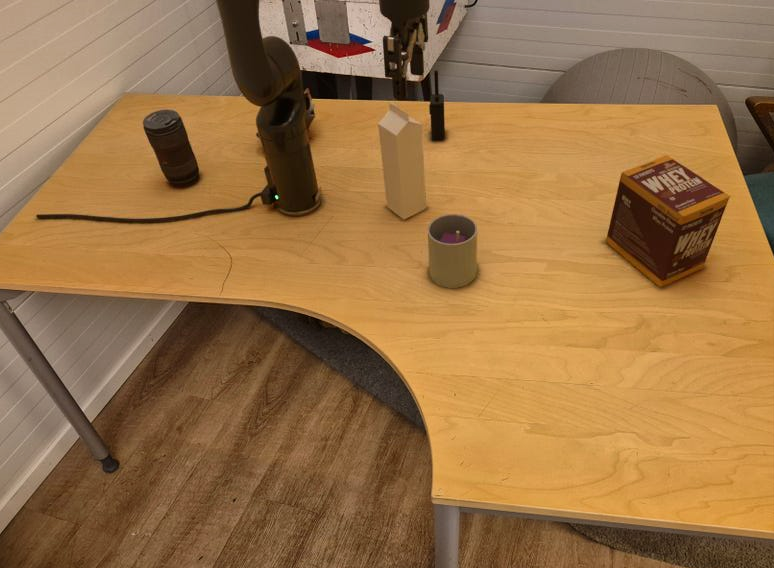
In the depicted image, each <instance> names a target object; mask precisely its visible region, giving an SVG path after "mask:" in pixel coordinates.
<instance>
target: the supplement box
mask: <svg viewBox="0 0 774 568" xmlns="http://www.w3.org/2000/svg"><path fill="white" fill-rule="evenodd" d="M730 198H731V195H729V194H728V193H726V192H725V191H722V190H721V189H720V188H718V187H717V186H715V185H713V184H712V183H710V182H709V181H707V180H706V179H705V178H703V177H702V176H700V175H699V174H697V173H695V172H694V171H692V170H691V169H689V168H687V166H685V165H683V164H682V163H679V162H678V161H677V160H675V159H673V158H672V157H670V156H669V155H664V156H661V157H659V158H656V159H654V160H651V161H649V162H646V163H643V164H641V165H638V166H635V167H632V168H630V169H627V170H624V171H622V172H621V173H620V177H619V181H618V186H617V190H616V195H615V200H614V204H613V208H612V213H611V217H610V222H609V225H608V230H607V235H606V238H605V243H606V244H607V245H608V246H609V247H611V248H612V249H614V251H616V252H617V253H618V254H619V255H620V256H622V258H624V259H625V260H627V262H629V263H630V264H631V265H632V266H634V267H635V268H636V269H637V270H638V271H640V272H641V273H642V274H643V275H644V276H645V277H646V278H648V279H649V280H650V281H651V282H652V283H653V284H655V285H656V286H657V287H659V288H662V287H664V286H667V285H668V284H671V283H673V282H676V281H677V280H680V279H682V278H684V277H686V276H689V275H691V274H692V273H695V272H697V271H699V270H702V269H703V268H704V267H705V264H706V261H707V258H708V256H709V252H710V251H711V248H712V245H713V242H714V240H715V237H716V234H717V231H718V228H719V226H720V223H721V221H722V218H723V215H724V213H725V210H726V207H727V205H728V203H729V200H730Z"/></svg>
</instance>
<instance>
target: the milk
mask: <svg viewBox="0 0 774 568" xmlns="http://www.w3.org/2000/svg"><path fill="white" fill-rule="evenodd" d="M388 106H389V110H388V111H387V112H386V113H385V115H384V116H383V117H382V118H381V119H380V120H379V122H378V124H377V126H378V134H379V135H378V137H379V145H380V154H381V163H382V172H383V181H384V192H385V201H386V207H387V208H388V210H390V211H391V212H393V213H394V214H395V215H397V216H398V217H399V218H401V219H402V220H403V221H404V220H406V219H408V218H410V217H412V216H414V215H416V214H418V213H420V212H422V211H424V210H426V209H427V199H426V179H425V178H426V177H425V159H424V157H425V156H424V139H423V124H422V123H421V122H419V121H417V120H416V119H414V118H412V117H411V116H409V113H408V112H407V111H405V110H403V109H402V108H400V107H399V106H397V105H396V104H394V103H392V102H389V105H388Z"/></svg>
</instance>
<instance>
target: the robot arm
mask: <svg viewBox="0 0 774 568" xmlns="http://www.w3.org/2000/svg"><path fill="white" fill-rule="evenodd" d="M260 1H261V0H215V4H216V8H217V11H218V15H219V18H220V21H221V26H222V30H223V35H224V40H225V44H226V49H227V55H228V59H229V64H230V69H231V72H232V75H233V79H234V81H235V84H236V87H237V88H238V90H239V91H240V93H241V95H242V96H243V97H244V98H245V99H246V101H248V102H249V103H250V104H252V105H254V106H256V107H260V108H259V110H258V112H257V114H256V117H255V125H256V130H257V132H258V133H259V137H260V138H259V137H258V138H259V140H260V145H261V148H262V151H263V156H264V160H265V162H266V165H265V166H264V168H263V172H264V175H265V180H266V183H267V184H266V185H265V187H264V188H263V189H262V190H261V191H260V192H257V193H255V194H254V195H252V196H251V197H250V199H249V200H248V202H247V203H246V204H244V205H243V206H239V207H235V208H234V207H233V208H216V209H209V210H203V211H198V212H193V213H189V214H183V215H175V216H174V215H173V216H167V217H152V218H151V217H150V218H149V217H148V218H127V217H126V218H125V217H113V216H111V217H110V216H99V215H98V216H97V215H88V214H75V213H74V214H72V213H50V214H49V213H47V214H42V213H41V214H36V215H35V216H36V219H47V218H48V219H49V218H50V219H51V218H70V219H71V218H73V219H86V220H98V221H110V222H112V221H113V222H123V223H124V222H125V223H154V222H155V223H157V222H167V221H177V220H184V219H190V218H194V217H198V216H205V215H209V214H217V213H218V214H219V213H234V212H235V213H236V212H240V211H243V210H246V209H249V208H250V207H251V206H252V204H253V202H254V201H255V199H257V198H259V197H260V199H261V202H262V205H263V206H264V205H266V206H269V207H270V206H272V205H273V208H274V209H276V210H278V211H279V212H280V213H281V214H284V215H286V216H289V217H298V216H299V217H301V216H305V215H308V214H311V213H313V212H314V211H315V210H317V209H318V208H319V207H320V205H321V203H322V197H321V193H322V188H321V186H320V187H319V185H318V179H317V174H316V169H315V164H314V160H313V155H312V149H311V146H310V140H309V138H308V135H307V130H306V125H305V113H306V102H305V95H304V91H305V89H304V82H303V75H302V70H301V66H300V63H299V60H298V57H297V55H296V53H295V51H294V49H293V48H292V46H290V44H289V43H288V41H286V40H284V39H283V38H281V37H279V36H275V35H268V36H265V37H263V35H262V30H261V29H262V28H261V23H260ZM378 5H379V6H378V7H379V12H380V14H381V15H382V17H384V18H386V19H387V20H389V21H390V29H389V35H383V36H382V52H383V67H384V77H385V78H386V79H387V78H388V79H391V82H392V83H391V84H392V94H393V96H392V97H393V98H394V100H398V101H406V100H407V99H408V97H409V94H408V76H407V74H408V64H409V71H410V75H413V76H419V77H421V76H423V75H424V73H425V61H424V57H425V55H424V52H425V51H426V43H428V41H429V26H428V24H429V23H428V12H429V10H430V5H431V4H430V0H378Z"/></svg>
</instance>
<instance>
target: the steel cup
mask: <svg viewBox="0 0 774 568" xmlns="http://www.w3.org/2000/svg"><path fill="white" fill-rule="evenodd" d="M456 231H459V232H460V235H461V236H466V241H464V242H461V243H457V244H447V243H442V242H440V240H441V238H442V236H443V234H444V233H449V234H455V235H456ZM427 246H428V247H427V248H428V261H429V262H428V264H429V265H428V266H429V267H428V268H429V276H430V278H431V280H432V281H433V282H434V283H435V284H436V285H438V286H440V287H443V288H446V289H447V288H449V289H458V288H462V287H465V286H467V285H469V284H470V283H471V282H473V281H474V279H475V278H476V275H477V267H478V265H477V264H478V225H477V223H476V222H475V220H473V219H472V218H470V217H468V216H466V215H463V214H458V213H449V214H443V215H440V216H438V217H436V218H434V219H433V220H432V221H430V223H429V224H428V226H427Z"/></svg>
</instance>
